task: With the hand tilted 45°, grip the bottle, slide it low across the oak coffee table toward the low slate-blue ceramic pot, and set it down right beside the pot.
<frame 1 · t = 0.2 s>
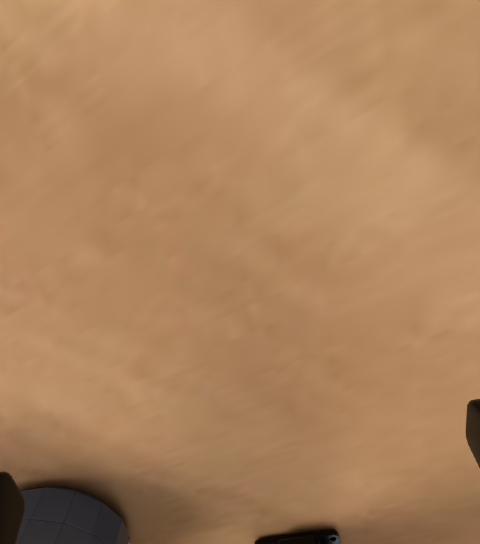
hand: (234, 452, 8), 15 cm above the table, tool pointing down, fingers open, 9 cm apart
pot: (61, 528, 31), on the table
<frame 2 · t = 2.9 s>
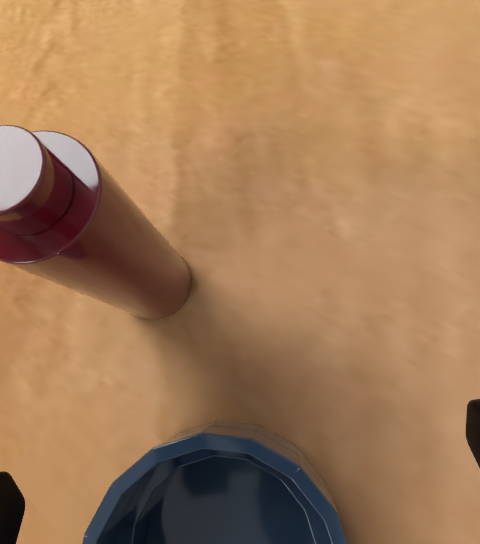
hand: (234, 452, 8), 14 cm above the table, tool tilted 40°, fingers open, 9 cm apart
pot: (230, 533, 20), on the table
bottle: (155, 283, 23), on the table
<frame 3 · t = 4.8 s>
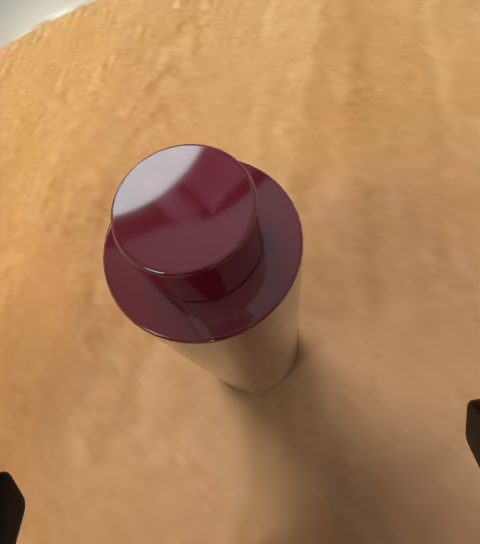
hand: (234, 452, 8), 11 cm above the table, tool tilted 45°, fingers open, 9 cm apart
bottle: (252, 346, 20), on the table
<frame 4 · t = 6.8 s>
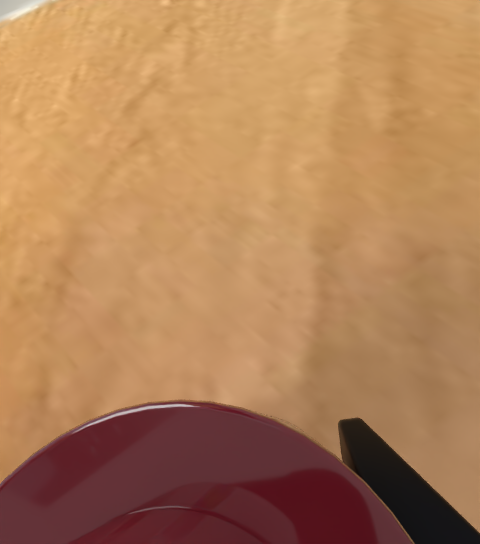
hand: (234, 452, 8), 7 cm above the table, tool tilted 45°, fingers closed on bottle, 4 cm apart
bottle: (265, 482, 14), on the table, touching gripper
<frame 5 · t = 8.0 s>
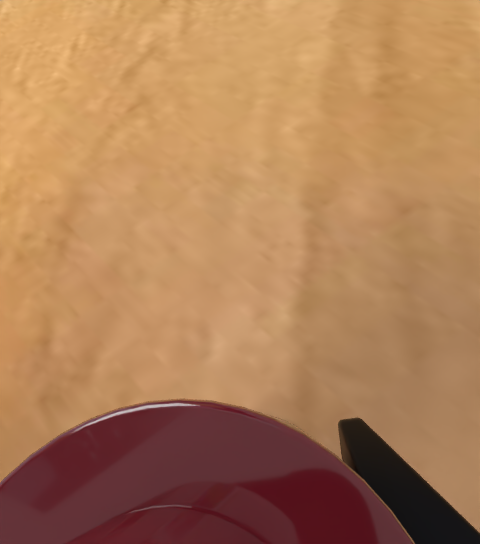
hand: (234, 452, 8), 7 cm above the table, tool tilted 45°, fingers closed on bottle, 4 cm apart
bottle: (265, 481, 14), on the table, touching gripper
when the fingers open (7 cm above the table, at t = 9.2 s): bottle stays where it is, on the table.
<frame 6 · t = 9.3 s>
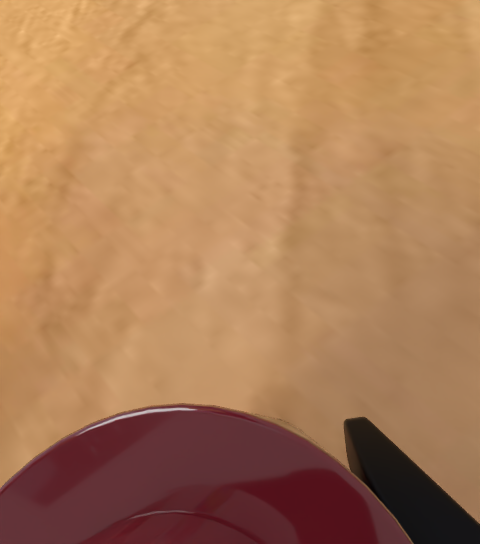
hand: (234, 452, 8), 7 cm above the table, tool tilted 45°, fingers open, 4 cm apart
bottle: (266, 483, 14), on the table
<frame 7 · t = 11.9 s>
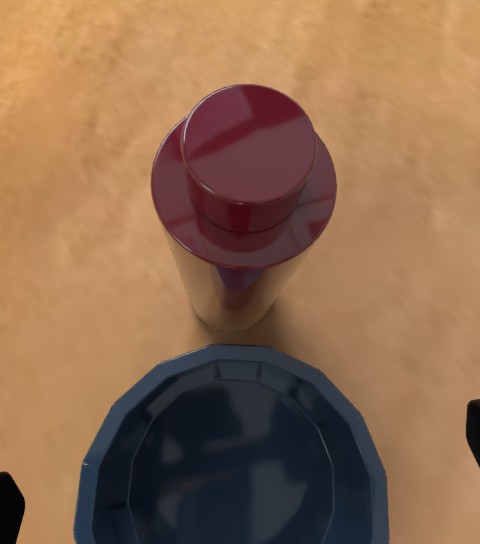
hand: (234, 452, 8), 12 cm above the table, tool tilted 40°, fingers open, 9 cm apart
pot: (230, 469, 19), on the table
bottle: (230, 290, 21), on the table
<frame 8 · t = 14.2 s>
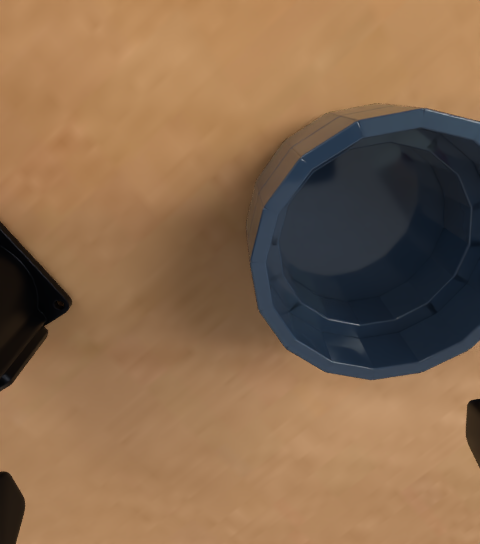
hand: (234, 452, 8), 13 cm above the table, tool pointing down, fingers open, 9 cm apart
pot: (355, 221, 20), on the table
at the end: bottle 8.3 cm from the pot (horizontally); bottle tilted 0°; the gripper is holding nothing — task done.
